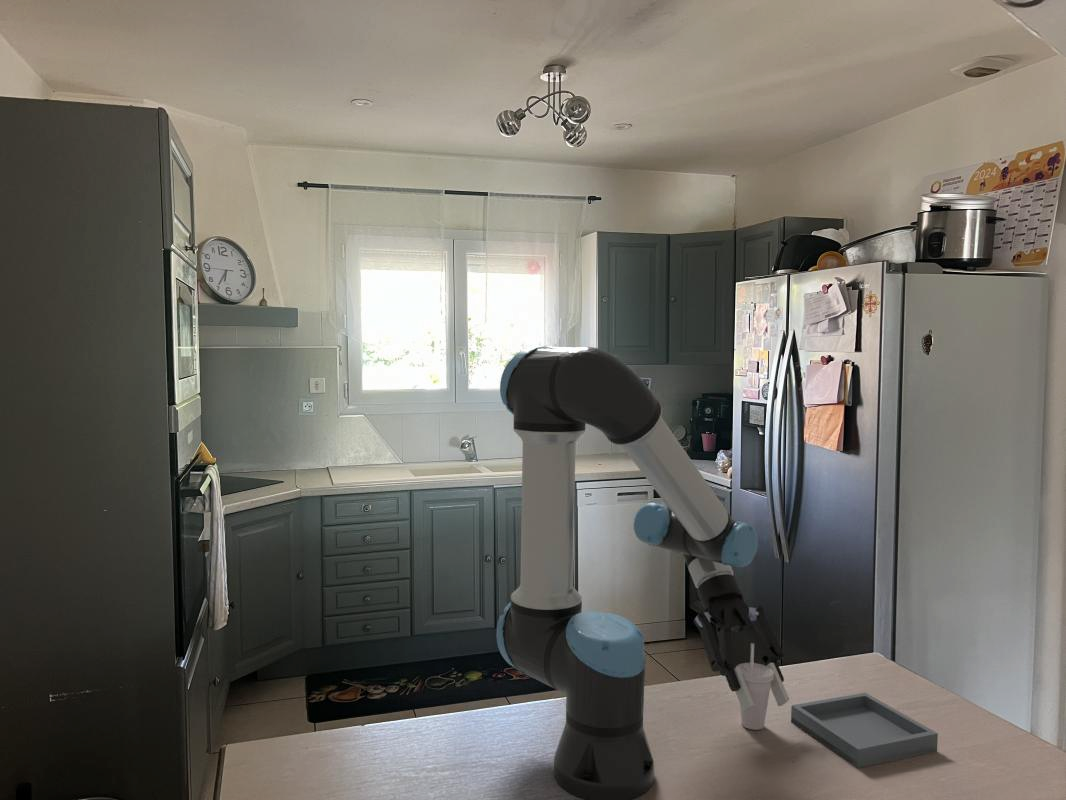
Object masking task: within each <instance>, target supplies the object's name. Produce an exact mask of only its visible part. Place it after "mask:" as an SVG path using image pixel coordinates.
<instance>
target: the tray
mask: <svg viewBox="0 0 1066 800" xmlns="http://www.w3.org/2000/svg"><path fill="white" fill-rule="evenodd" d="M790 712H791V713H790V723H791V724H793V723H794V724H795V725H794V724H793V725H794V726H796V725H797V726H798V728H799V729H800V728H801V729H800V730H802V731H803V730H804V731H803V732H805V733H806V734H807V733H808V734H807V735H809V736H810V735H811V736H810V737H812V738H813V739H815V740H816V741H818V743H820V744H822V745H823V746H824V747H826V748H827V749H829V750H830V751H832V752H834V753H835V754H836V755H838V756H839V757H841V758H842V759H843V760H845V761H846V762H848V763H849V764H850V765H851V766H853V767H855V768H856V769H861V768H864V767H869V766H874V765H880V764H884V762H885V763H890V762H894V761H898V760H897V759H899V760H903V758H904V759H908V758H912V757H911V756H913V757H918V756H922V755H921V754H923V755H926V754H925V753H927V754H931V753H936V752H935V751H937V752H938V740H939V738H938V737H939V733H938V732H936V731H934V730H933V729H931V728H930V727H927V726H925V725H924V724H922V723H920V722H918V721H916V720H915V719H913V718H911V717H909V716H908V715H907V714H905V713H903V712H901V711H899V710H897V709H895V708H894V707H892V706H890V705H888V704H886V703H885V702H884V701H881V700H879V699H878V698H876V697H874V696H872V695H871V694H868V693H867V692H862V693H856V694H855V693H854V694H849V695H844V696H839V697H832V698H827V699H826V698H825V699H820V700H814V701H810V702H809V701H808V702H803V703H797V704H792V705H791V709H790ZM797 726H796V727H797ZM930 752H931V753H930ZM917 755H918V756H917ZM907 757H908V758H907ZM893 760H894V761H893Z"/></svg>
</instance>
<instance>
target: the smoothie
mask: <svg viewBox="0 0 1066 800" xmlns="http://www.w3.org/2000/svg"><path fill="white" fill-rule="evenodd" d="M749 657H750V659H749V660H750V661H749V662H744V663H739V664H737V665H736V666H735V668H738V667H739V668H740V671H741V673H742V676H743V678H744V681H745V683H746V686H747V688H748V691H749V693H750V696H751V698H752V701H753V703H754V706H753V707H752V708H751V709H750V710H748V711H747V712H743V710H742V707H741V705H740V704H739V709H740V719H741V725H742V726H743V727H744V728H747V729H749V730H754V731H755V730H756V731H757V730H762V729H764V728H765V721H766V715H767V710H768V704H769V698H770V692H771V688H770V687H771V681H772V680H773V679H774V672H773V670H772V669H771V668H769V667H767V666H765V665H764V664H763V663H762V664H761V663H758V662H757V663H756V662H754V660H755V659H754V658H755V651H754V644H753V643H751V646H750V656H749Z"/></svg>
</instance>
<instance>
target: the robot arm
mask: <svg viewBox="0 0 1066 800" xmlns="http://www.w3.org/2000/svg"><path fill="white" fill-rule="evenodd" d="M499 384H500V385H499V393H500V398H501V401H502V403H503V405H504V406H506V407H505V409H506V410H507V411H508V412H510V413H511V414H512V415H513V432H515V434H516V435H517V436H518V437H519V438H520V439H521V441H522V460H521V461H522V467H521V470H522V472H521V473H522V475H521V516H520V517H521V525H520V527H521V530H520V579H519V580H520V582H519V583H520V584H519V586H518V587H517V588H516V589H515V590H514V591H512V592H511V595H510V602H509V603H508V604H507V605H506V606H505V607H504V608H503V614H502V615H500V616H499V617H498V621H497V625H496V642H497V643H496V644H497V648H498V650H499V652H500V654H501V656H502V658H503V659H504V660H505V662H506V663H507V664H508V665H510V666H511V667H513V668H514V669H515V670H517V671H518V672H519V673H520V674H521V675H524V676H526V677H529V678H533V679H535V680H537V681H538V682H540V683H543V684H545V685H546V686H548V687H550V688H553V689H555V690H557V691H558V692H560V693H562V694H564V695H565V697H566V698H565V699H566V700H565V701H566V702H565V724H564V728H563V730H562V734H561V736H560V739H559V742H558V744H557V747H556V751H555V754H554V757H553V758H554V759H553V776H554V778H555V781H556V782H557V784H558V785H559V786H560V787H561V788H563V789H564V790H565V791H567V792H568V793H570V794H571V795H574V796H577V797H580V798H582V799H586V800H631V799H634V798H637V797H639V796H642V795H643V794H645V793H646V792H647V791H649V790H650V788H651V787H652V786H653V784H654V780H655V763H654V757H653V755H652V752H651V748H650V744H649V740H648V739H647V738H648V737H647V734H646V731H645V728H644V706H645V705H644V703H645V700H644V699H645V675H646V674H645V673H646V668H645V667H646V662H647V661H646V653H645V641H644V636H643V633H642V631H641V630H640V629H639V627H638V626H637V625H636V624H635V623H633V622H632V621H631V620H629V619H628V618H626V617H624V616H621V615H618V614H615V613H611V612H609V613H604V612H603V611H598V610H597V611H596V610H595V611H594V610H593V611H592V610H591V611H584V612H583V611H582V607H583V605H582V604H583V600H582V598H583V597H582V595H581V594H580V593H579V592H578V590H576V589H575V587H574V550H575V549H574V547H575V546H574V543H575V539H574V537H575V499H576V498H575V495H576V493H575V492H576V491H575V489H576V486H575V485H576V442H577V441H578V439H579V438H580V437H582V436H583V434H585V432H586V425H589V426H591V427H594V428H595V429H597V430H599V431H600V432H602V434H603V435H604V436H605V437H606V438H607V440H608V441H609V442H610V443H612V444H613V445H615V446H621V447H622V449H624V451H625V452H626V454H627V455H628V456H629V458H630V459H631V460H632V461H633V463H634V465H635V466H636V467H637V468H638V469H639V471H640V472H641V473H642V474H643V476H644V477H645V479H646V480H647V481H648V482H649V484H650V485H651V486H652V488H653V489H654V491H656V493H657V494H658V496H659V497H660V499H662V501H663V502H664V504H661V503H656V502H648V503H645V504H643V505H642V506H641V507H640V508H639V509H638V510H637V512H636V513H635V515H634V516H635V517H634V518H633V519H634V520H633V531H634V534H635V536H636V537H637V539H639V541H640V542H642V543H645V544H647V545H649V546H652V547H658V548H661V549H664V550H668V551H671V552H674V553H677V554H681V556H682V557H683V560H684V562H685V563H686V567H687V569H688V572H689V574H690V577H691V579H692V582H693V584H694V586H695V588H696V589H697V590H696V592H697V594H698V598H699V600H700V603H701V604H702V607H703V608H704V609H705V611H704V612H702V611H701V612H699V613H698V614H697V616H696V617H695V618H693V624H694V625H695V627H696V628H697V629H698V631H699V634H700V636H701V640H702V643H703V647H704V650H705V652H706V655H707V659H708V662H709V663H708V664H709V665H710V669H711V671H712V672H715V673H716V672H719V674H720V676H722V677H725V678H726V682H727V684H728V686H729V689H730V691H732V692H735V694H736V696H737V699H738V702H739V706H740V705H741V707H742V710H743V712H747V711H748V710H750V709H751V708H752V707H753V706H754V703H753V701H752V698H751V696H750V693H749V691H748V688H747V686H746V683H745V681H744V678H743V676H742V673H741V671H740V668H739V667H738V668H736V667H735V663H734V653H733V643H732V636H731V635H732V633H731V631H733V632H737V633H738V634H739V635H740V636H741V637H743V639H745V641H746V642H747V643H748V645H749V646H750V647H751V643H753V644H754V654H755V655H757V656H758V658H759V660H761V662H762V664H763V665H765V666H767V667H769V668H771V669H772V670H773V672H774V679H773V680H772V681H771V687H770V691H771V692H772V694H773V697H774V699H775V702H776V705H777V706H778V707H782V706H783V705H785V704H786V703H788V701H790V697H789V695H788V692H787V690H786V688H785V685H784V683H783V682H785V677H784V676H783V673H782V671H781V669H780V667H779V662H780V661H781V660H782V659H783V658H784V657H785V652H784V651H783V649H782V647H781V645H780V643H779V641H778V639H777V637H776V636H775V633H774V632H773V630H772V628H771V626H770V624H769V622H768V621H767V618H766V615H765V609H764V607H763V606H761V605H758V606H757V607H750V606H749V605H748V604H747V603H746V602H745V600H744V597H743V591H742V589H741V587H740V585H739V583H738V580H737V578H736V576H734V570H733V568H732V567H737V568H744V567H746V566H748V565H750V564H751V562H752V561H753V559H754V557H755V555H756V554H757V551H758V547H759V546H758V545H759V538H758V533H757V531H756V528H754V527H753V526H752V525H750V524H748V523H745V522H743V521H740V520H738V521H736V520H734V519H733V518H732V517H731V515H730V514H729V512H728V510H727V509H726V508H725V506H724V505H723V504H722V502H721V500H720V499H719V498H718V496H717V494H715V492H714V490H713V489H712V488H711V486H710V485H709V483H708V482H707V481H706V479H705V478H704V476H703V475H702V473H701V472H700V470H699V469H698V468H697V466H696V465H695V464H694V462H693V461H692V459H691V457H690V456H689V455H688V453H687V452H686V451H685V449H684V448H683V446H682V444H681V443H680V442H679V440H678V439H677V437H676V436H675V435H674V434H673V432H672V430H671V429H670V427H669V425H667V423H666V422H665V420H664V419H663V418H662V415H663V407H662V405H661V403H660V401H659V400H658V399H657V397H656V396H655V395H654V393H653V391H651V389H650V388H649V386H648V385H647V384H646V383H645V382H644V381H643V380H642V379H641V377H640V376H638V375H637V374H636V372H634V371H633V370H632V369H631V368H630V367H629V366H628V365H627V364H625V363H624V362H623V361H622V360H620V359H619V358H618V357H617V356H615V355H613V354H611V353H610V352H608V351H606V350H604V349H600V348H598V347H594V346H578V347H577V346H576V347H575V346H548V345H544V346H537V347H536V346H535V347H530V348H529V347H528V348H526V349H523V350H520V351H519V352H517V353H516V354H515V355H514V356H512V358H511V359H510V360H509V361H508V362H507V364H506V365H505V367H504V369H503V371H502V374H501V377H500V383H499ZM711 623H712V624H714V625H715V627H716V636H715V632H714V629H713V627H712V624H711ZM716 637H717V638H718V640H717V638H716ZM717 641H718V642H717ZM734 667H735V668H734Z"/></svg>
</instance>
